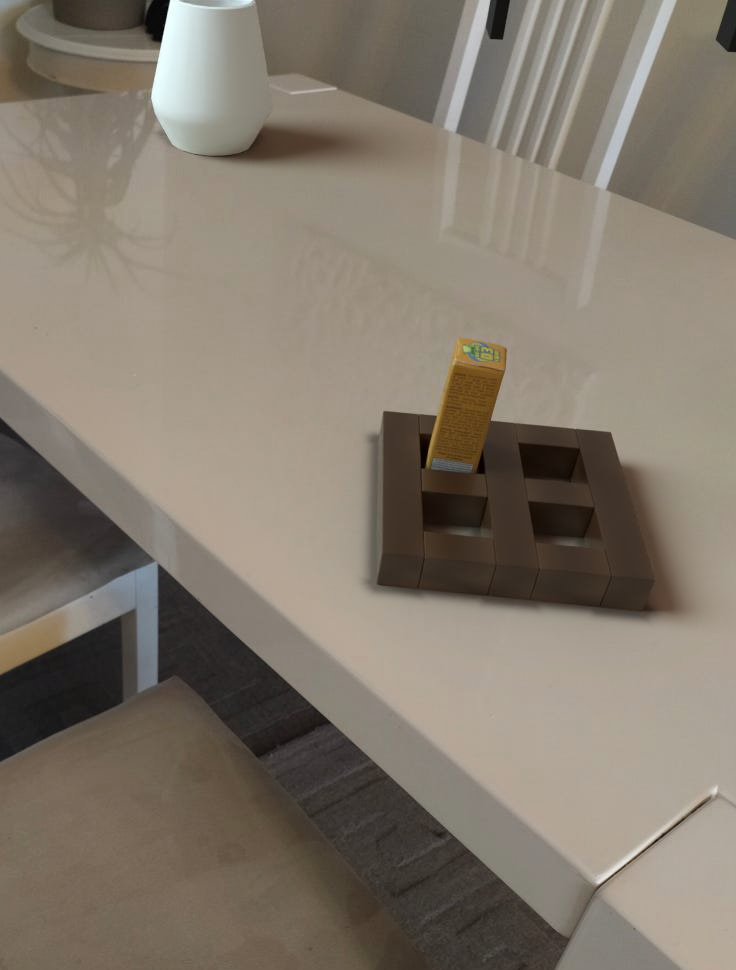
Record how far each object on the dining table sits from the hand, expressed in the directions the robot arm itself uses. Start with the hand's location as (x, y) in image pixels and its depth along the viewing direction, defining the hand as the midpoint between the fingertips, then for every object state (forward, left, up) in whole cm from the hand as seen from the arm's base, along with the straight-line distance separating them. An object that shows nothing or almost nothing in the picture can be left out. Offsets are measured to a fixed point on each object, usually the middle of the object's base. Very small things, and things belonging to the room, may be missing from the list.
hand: (610, 40), depth 57 cm
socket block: (+3, +17, -23) cm, 29 cm away
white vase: (+30, -50, -24) cm, 63 cm away
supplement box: (+6, +14, -24) cm, 28 cm away
